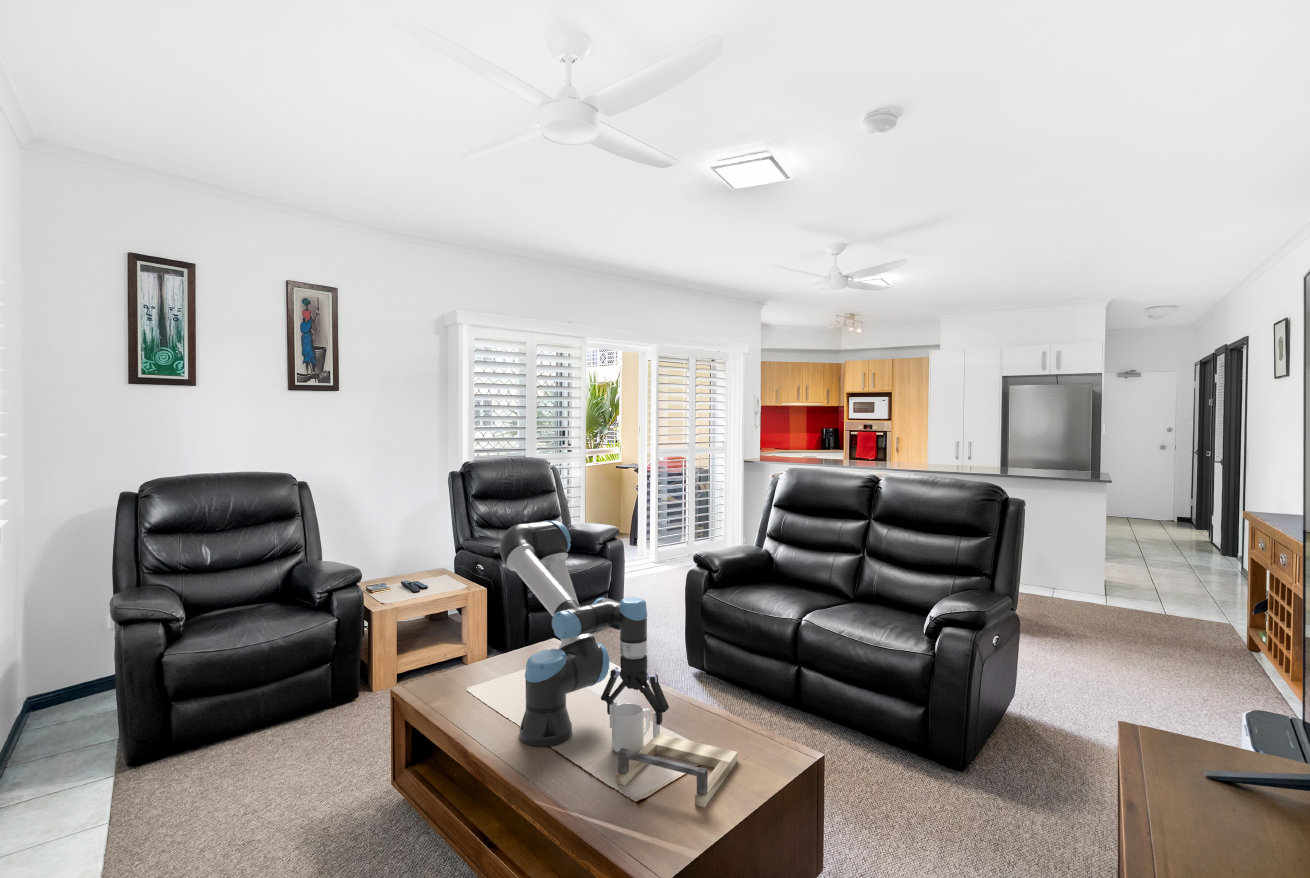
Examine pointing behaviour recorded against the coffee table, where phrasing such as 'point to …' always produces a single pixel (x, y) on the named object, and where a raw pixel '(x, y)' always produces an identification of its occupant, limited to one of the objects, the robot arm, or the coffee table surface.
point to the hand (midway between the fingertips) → (634, 730)
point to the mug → (629, 727)
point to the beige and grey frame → (680, 750)
